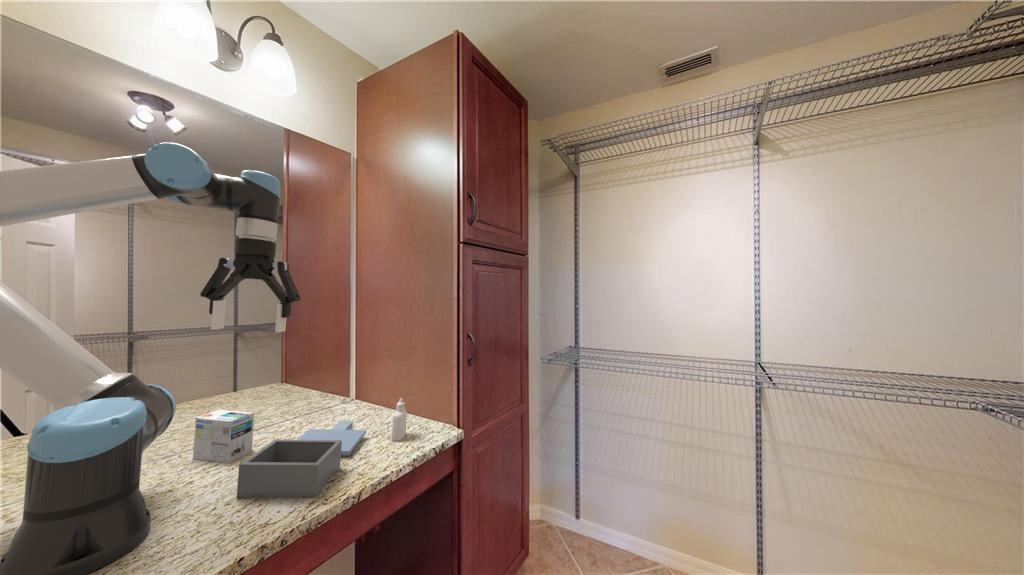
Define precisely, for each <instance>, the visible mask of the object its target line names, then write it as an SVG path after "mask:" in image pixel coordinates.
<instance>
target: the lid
mask: <svg viewBox="0 0 1024 575" xmlns="http://www.w3.org/2000/svg"><path fill="white" fill-rule="evenodd" d="M353 424H354V421H350V420H349V421H348V420H339V422H337V424H335V425H334V426H333V427H332V428H331V429H330V428H329V429H327V428H326V429H325V428H324V429H323V428H322V429H321V428H320V429H319V428H316V429H315V428H309V429H308V430H306V431H305V432H304V433H303V434H301V436H299V437H298V438H297V439H296V440H342V446H341V456H349V455H350V454H351V453H352V452H353V451H354V450H355V448H356V447H357V446H358V445H359V443H360V442H361V441H362V439H363V438H364V436H366V434H367V430H366V429H353V428H354V427H353V426H354V425H353Z"/></svg>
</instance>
